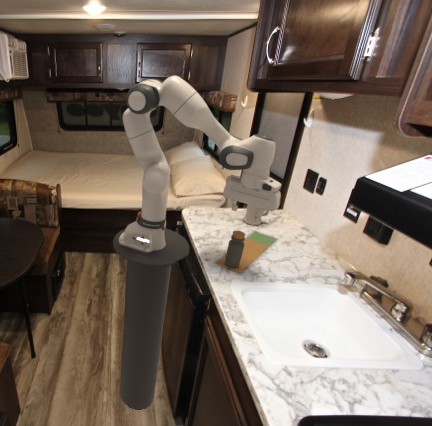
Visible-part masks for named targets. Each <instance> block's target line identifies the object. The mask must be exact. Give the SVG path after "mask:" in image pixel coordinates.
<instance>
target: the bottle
mask: <svg viewBox="0 0 432 426" xmlns="http://www.w3.org/2000/svg"><path fill="white" fill-rule="evenodd" d="M245 236H246V233H245V232H244V231H242V230H233V231H232V234H231V236H230V240H229V241H228V245H227V250H226V253H225V256H226V258H225V265H226V266H227V267H230V268H238V267H239V265H240V261H241V257H242V253H243V249H244V243H243V242H244V241H245V240H246V237H245ZM227 267H226V268H227Z"/></svg>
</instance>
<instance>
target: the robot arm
mask: <svg viewBox="0 0 432 426" xmlns="http://www.w3.org/2000/svg"><path fill="white" fill-rule="evenodd" d="M125 103H126V106H127V109H126V110H125V111H124V112H123V114H122V123H123V127H124V128H123V129H124V131H125V134H126V137H127V139H128V142H129V144H130V147H131V149H132V152H133V155H134V157H135V159H137V161H138V163H139V164H140V166H141V168H142V170H143V175H142V180H141V181H142V182H141V186H142V187H141V198H142V199H141V211H138V213H137V216H136V220H135V221H133V222H132V223H129V224H127V225H126V228H124V229H125V232H123V233H122V234H121V236H120V237H119V244H120V245H123V246H126V247H129V248H132V249H136V250H139V251H142V252H145V253H150V252H152V251H157V250H161V249H163V248H164V247H165V246H166V242H165V234H164V230H165V228H166V227H167V216H166V215H167V205H168V196H169V187H170V186H169V185H170V179H171V167H170V165H169V162H168V161H167V158H166V155H165V154H164V152H163V150H162V148H161V146H160V142H159V140H158V137H157V135H156V132H155V129H154V127H153V124H152V121H151V113H152V112H154V111H155V110H156V109H157V108H159V107H160V106H161V107H164V108H166V109H167V110H168V111H169V112H170V113H171V114H172V115H173V116H174V118H175V119H176V120H178V121H179V122H180V123H181V124H182V125H184V126H185V127H187V128H190V129H196V130H199V131H201V132H202V133H204V134H205V135H206V136H207V137H208V138H209V139H210V140H211V141H212V142H213V143H214V144H215V145H216V146H217V148H218V150H219V155H218V162H219V164H220V165H221V167H222V168H224V169H225V170H228V171H242V174H241V176H238V175H234V174H230V175H227V176H226V178H225V186H224V188H223V190H222V191H223V192H222V196H223V198H225V199H229V200H230V205H231V211H233V212H236V211H238V207H239V206H238V205H237V204H236V202H239V203H243V204H246V205H252V206H255V207H258V208H261V211H262V212H261V213H257V214H256V218H258V219H260V218H261V216H262V214H264V213H265V212H266V211H267V210H268V211H269V212H275V211H277V210H278V209H279V207H280V204H281V198H282V195H281V194H282V193H281V191H280V189H281V188H282V183H280V182H279V181H278V180H276V179H274V178H272V177H270V168H271V166H272V165H273V162H274V159H275V157H274V156H275V153H276V146H277V145H276V141H275V140H274V139H273V138H272V137H270V136H268V135H264V134H259V133H256V134H253V135H252V136H249V137H247V138H245V139H242V138H240V137H237V136H235V135H232V134H231V133H230V132H229V131H228V130H227V129H226V128H225V127H224V126H223V125H222V124H221V123H220V122H219V121H218V119H217V118H216V117H215V116H214V114H213V113H212V111H211V110H210V107H209V106H208V104H207V103H206V101H205V100H204V98H203V97H202V96H201V94H200V93H199V92H198V91H197V90H196V89H195V88H194V87H193V86H192V85H191V84H190V83H188V82H187V81H186V80H184V79H183V78H181V77H180V76H178V75H171V76H168V77H167V78H166V79H164V80H161V79H158V78H150V79H145V80H141V81H140V82H139V83H136V84H134V85H132V87H130V88H129V90H128V91H127V94H126V96H125ZM262 217H263V216H262ZM261 219H262V218H261Z"/></svg>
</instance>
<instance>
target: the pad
mask: <svg viewBox="0 0 432 426" xmlns="http://www.w3.org/2000/svg"><path fill="white" fill-rule="evenodd" d="M247 238H248V239H251V240H254V241H256V242H259V243H262V244H264V245H267V246H268V247H269V246H270V245H271V244H273V243H274V242H275V241H276V240H277V238H275V237H272V236H269V235H266V234H263V233H261V232H258V231H254V232H253V233H252V234H251V235H249V236H248V237H247Z"/></svg>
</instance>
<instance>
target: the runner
mask: <svg viewBox="0 0 432 426" xmlns="http://www.w3.org/2000/svg"><path fill="white" fill-rule="evenodd" d="M243 243H244V249H243V253H242V257H241V261H240V265H239V267H238V268H230V267H227V266H226V265H225V258H226V255H225V256H223V257H222V258H221V259H219V260H218V261H217V262H216V264H218V265H220V266H223V267H224V268H227V269H229V270H231V271H234V272H236V273H238V274H241V273H242V272H243V271H245V269H246V268H247V267H248V266H249V265H250V264H252V263H253V261H254V260H256V259H257V258H258V257H259V256H260V255H261V254H262V253H263V252H264V251H265V250H266V249H268V247H269V246H267V245H264V244H262V243H259V242H256V241H254V240H251V239H248V237H247V238H245V241H244V242H243Z"/></svg>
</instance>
